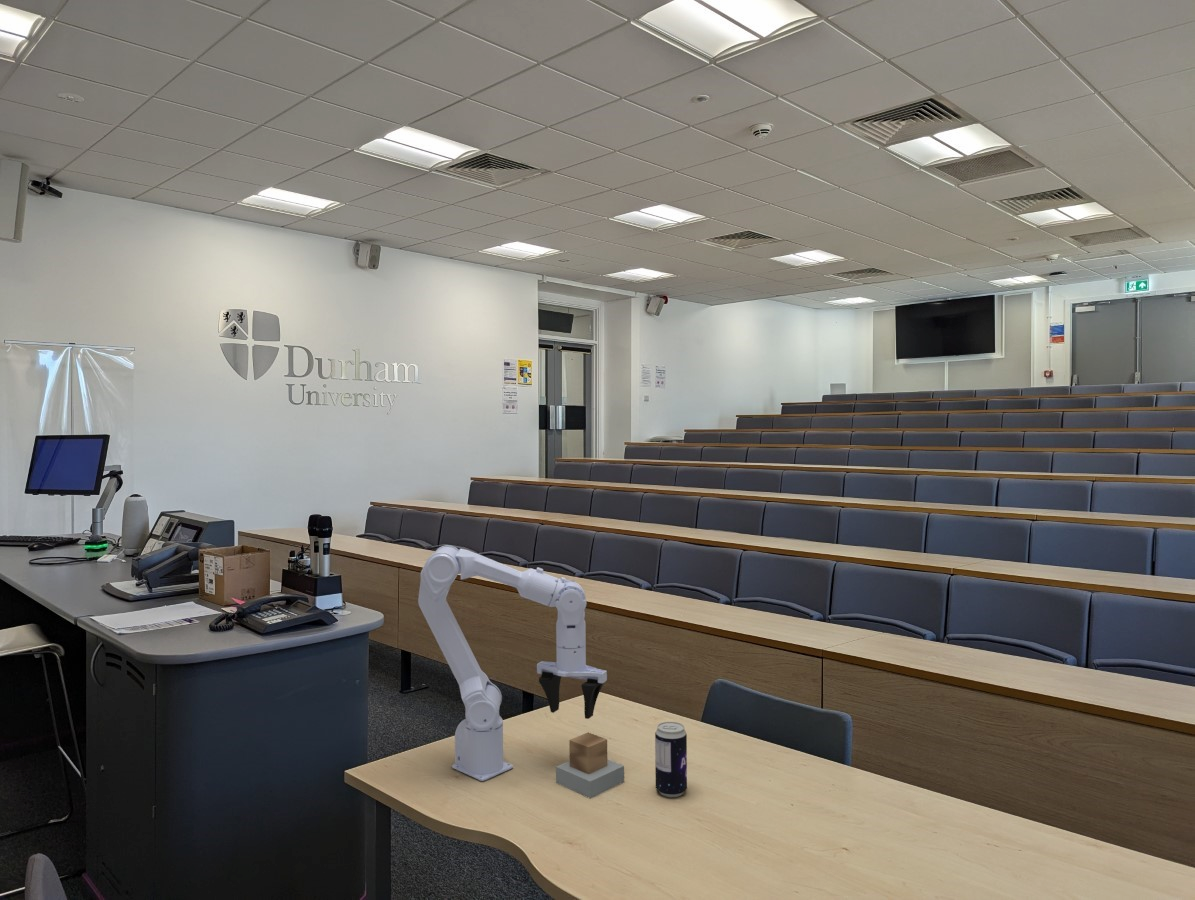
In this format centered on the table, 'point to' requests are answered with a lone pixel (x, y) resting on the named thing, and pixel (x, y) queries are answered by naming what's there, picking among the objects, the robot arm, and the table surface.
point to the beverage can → (671, 759)
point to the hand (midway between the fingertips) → (571, 713)
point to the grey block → (590, 778)
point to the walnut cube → (588, 753)
